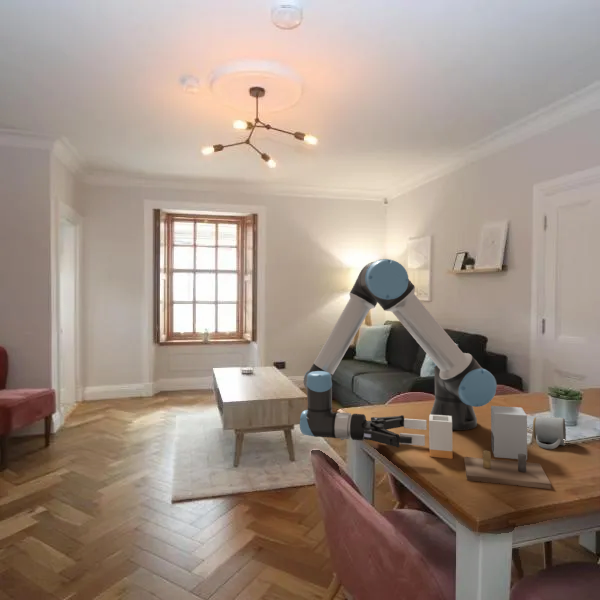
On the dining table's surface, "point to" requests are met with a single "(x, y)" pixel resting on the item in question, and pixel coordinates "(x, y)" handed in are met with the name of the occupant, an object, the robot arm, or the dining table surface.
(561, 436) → the ceramic mug
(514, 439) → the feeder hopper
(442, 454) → the sleeve
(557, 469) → the dining table surface
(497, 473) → the pin board
